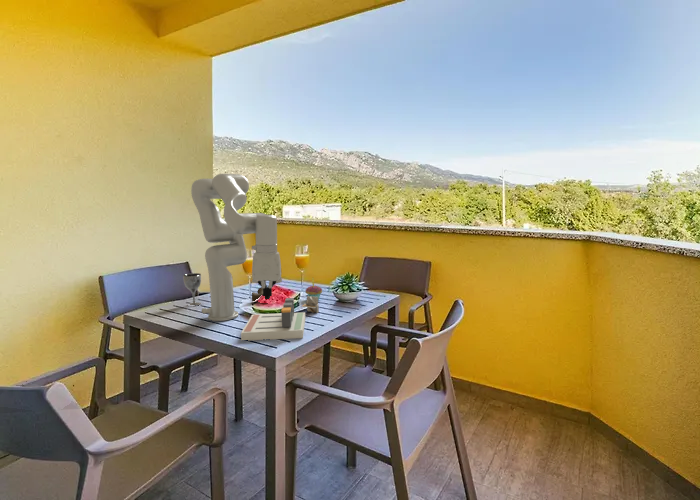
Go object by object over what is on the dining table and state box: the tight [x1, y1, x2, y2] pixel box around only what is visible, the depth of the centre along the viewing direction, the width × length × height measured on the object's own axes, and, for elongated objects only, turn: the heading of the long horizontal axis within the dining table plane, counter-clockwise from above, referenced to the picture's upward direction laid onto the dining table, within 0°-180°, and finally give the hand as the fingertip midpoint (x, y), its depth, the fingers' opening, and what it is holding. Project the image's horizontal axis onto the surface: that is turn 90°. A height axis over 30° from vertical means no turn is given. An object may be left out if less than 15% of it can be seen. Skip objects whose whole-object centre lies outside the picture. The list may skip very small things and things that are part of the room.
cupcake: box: [305, 278, 323, 301], centre depth 188 cm, size 9×8×12 cm
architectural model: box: [301, 295, 320, 314], centre depth 166 cm, size 3×7×7 cm, turn 70°
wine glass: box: [182, 272, 202, 306], centre depth 183 cm, size 8×8×15 cm
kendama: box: [251, 286, 263, 301], centre depth 189 cm, size 6×10×20 cm
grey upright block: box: [280, 307, 292, 327], centre depth 138 cm, size 3×4×7 cm
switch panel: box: [240, 297, 306, 342], centre depth 145 cm, size 22×22×10 cm
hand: (267, 297), depth 137 cm, fingers closed
